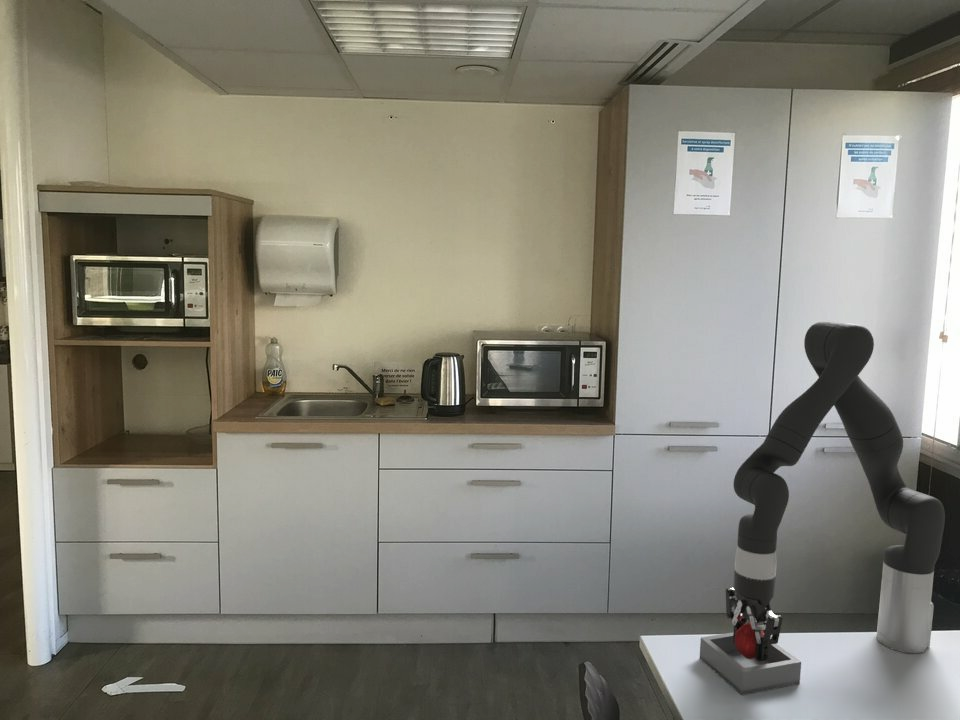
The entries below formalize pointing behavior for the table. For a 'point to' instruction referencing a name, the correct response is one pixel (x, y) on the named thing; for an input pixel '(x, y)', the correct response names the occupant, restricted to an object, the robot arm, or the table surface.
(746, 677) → the box
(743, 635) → the pomegranate
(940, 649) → the table surface
